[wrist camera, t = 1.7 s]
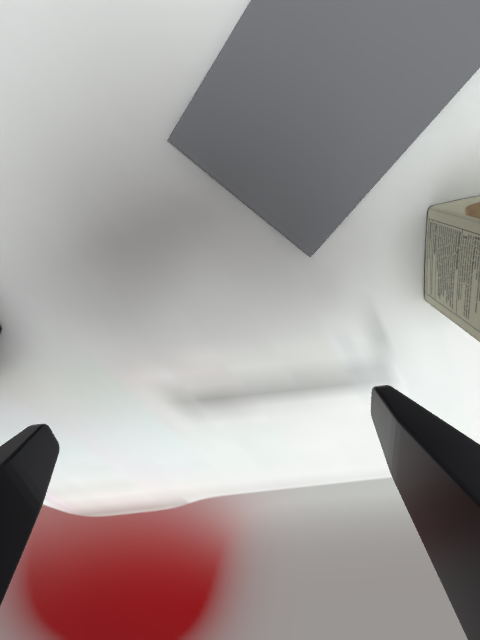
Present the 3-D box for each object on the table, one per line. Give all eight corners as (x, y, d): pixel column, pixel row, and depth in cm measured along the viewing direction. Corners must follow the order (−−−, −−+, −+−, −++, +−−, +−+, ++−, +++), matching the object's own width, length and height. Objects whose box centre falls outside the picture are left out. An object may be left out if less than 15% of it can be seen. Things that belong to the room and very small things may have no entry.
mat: (309, 255, 20) (310, 257, 20) (168, 140, 17) (167, 140, 17) (518, 19, 15) (525, 16, 15) (373, -201, 12) (377, -212, 12)
